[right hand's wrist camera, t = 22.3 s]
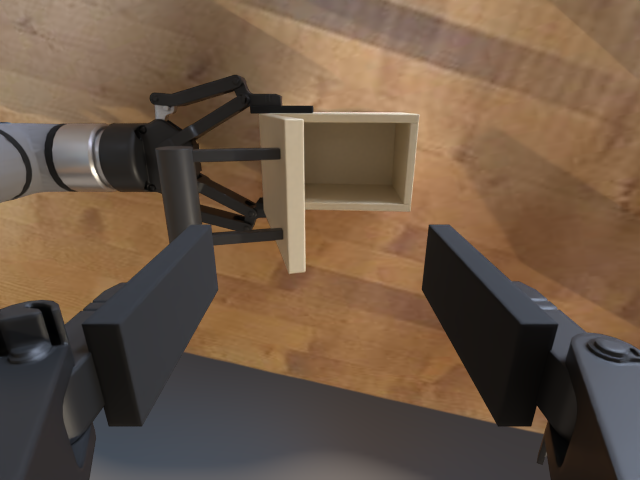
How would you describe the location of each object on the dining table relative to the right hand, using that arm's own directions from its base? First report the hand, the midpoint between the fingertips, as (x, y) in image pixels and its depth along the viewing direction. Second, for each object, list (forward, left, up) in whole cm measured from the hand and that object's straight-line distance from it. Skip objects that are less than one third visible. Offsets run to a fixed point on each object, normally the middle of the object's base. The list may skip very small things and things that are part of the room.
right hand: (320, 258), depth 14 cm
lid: (+2, -2, -17) cm, 17 cm away
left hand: (0, -1, -29) cm, 29 cm away
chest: (-1, +2, -35) cm, 35 cm away
